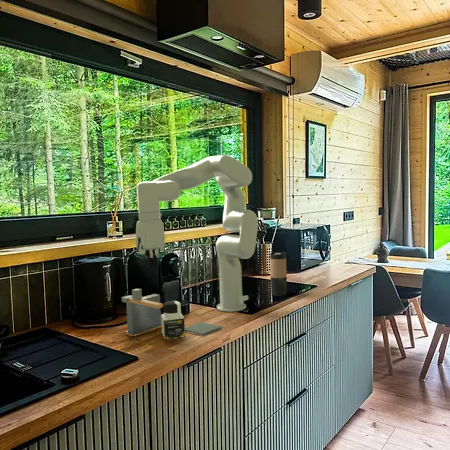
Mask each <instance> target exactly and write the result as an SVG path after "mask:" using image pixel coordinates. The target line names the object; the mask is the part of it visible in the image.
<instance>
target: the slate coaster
mask: <svg viewBox="0 0 450 450" xmlns="http://www.w3.org/2000/svg"><path fill="white" fill-rule="evenodd" d="M221 329H222V325H221V326H220V325H217V324H212V323H207V322H204V321H200V322H198V323H195V324H192V325H188V326H186V327H185V331H189V332H193V333H196V334H199V335H198V336H200V335H202V336H201V337H204V336H206V334H207V335H209V334H211V332H212V333H214V332H217V331H220V330H221ZM189 332H188V333H189ZM208 333H209V334H208ZM196 334H195V335H196ZM203 335H204V336H203Z"/></svg>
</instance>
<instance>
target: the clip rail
mask: <svg viewBox="0 0 450 450" xmlns="http://www.w3.org/2000/svg"><path fill="white" fill-rule="evenodd" d="M142 299H144V300H148V301H153V302H157V303H161V295H160V294H157V293H153V294H150V295H146V296H142ZM161 309H162V308H159V309H157V308H152V307H148V306H144V305H139V304H135V303H131V302H129V303H126V324H127V330H126V331H125V333H128V334H131V335H135V334H139V333H142V332H145V331H148V330H151V329H153V328H156V327H159V326H161V315H162V310H161Z"/></svg>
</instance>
